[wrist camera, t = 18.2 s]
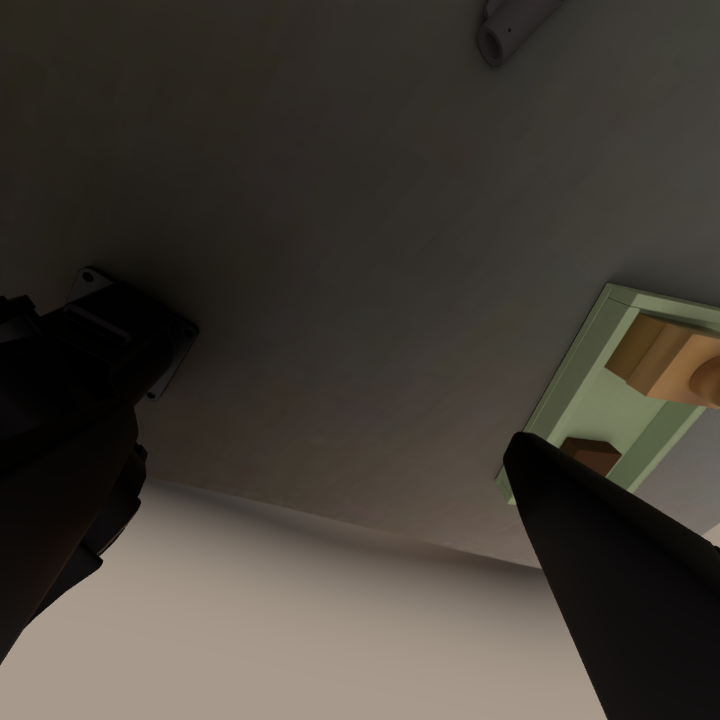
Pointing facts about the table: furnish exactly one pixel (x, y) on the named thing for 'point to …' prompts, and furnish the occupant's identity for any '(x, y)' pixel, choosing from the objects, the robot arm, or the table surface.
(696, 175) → the table surface
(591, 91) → the table surface
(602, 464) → the dark brown block
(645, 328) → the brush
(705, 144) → the table surface
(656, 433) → the tray
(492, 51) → the bracket
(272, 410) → the table surface
